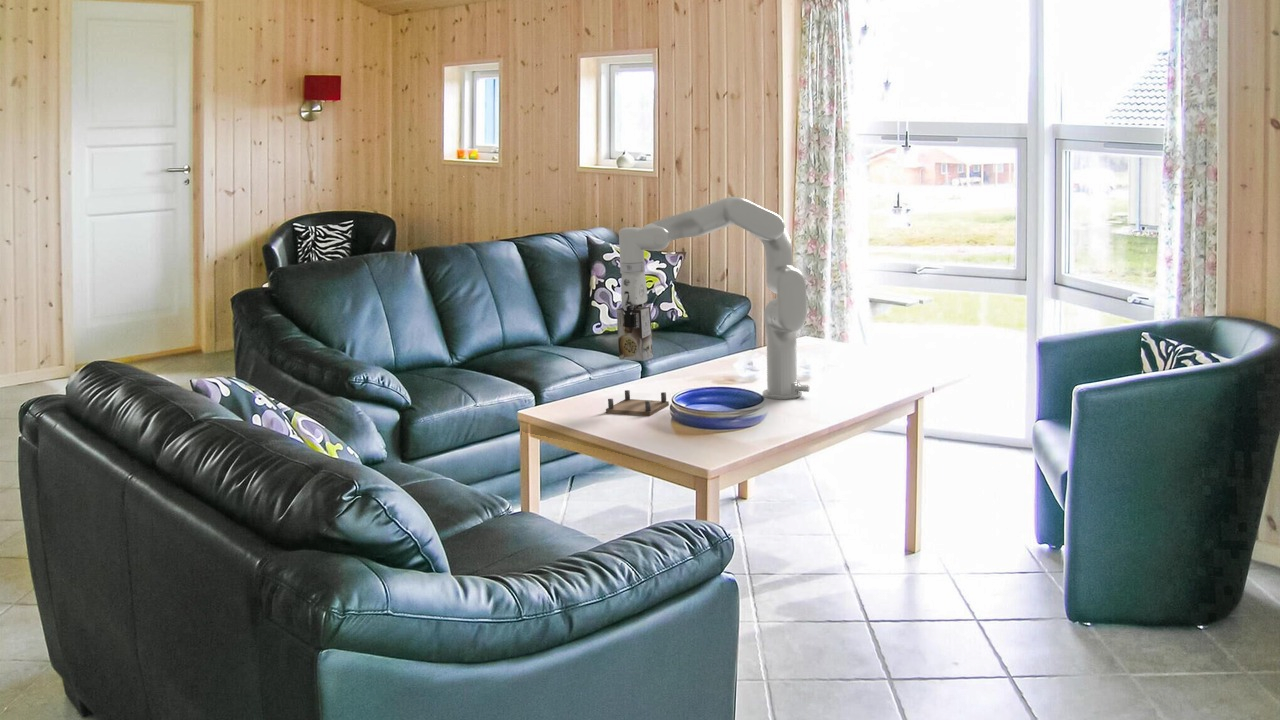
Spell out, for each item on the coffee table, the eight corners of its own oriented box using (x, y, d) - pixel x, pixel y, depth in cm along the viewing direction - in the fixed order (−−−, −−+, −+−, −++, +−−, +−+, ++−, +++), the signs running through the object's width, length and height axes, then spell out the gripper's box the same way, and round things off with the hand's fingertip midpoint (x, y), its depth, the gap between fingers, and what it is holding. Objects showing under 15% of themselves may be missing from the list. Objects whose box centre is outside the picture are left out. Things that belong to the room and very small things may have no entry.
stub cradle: (668, 405, 383) (668, 392, 382) (650, 415, 369) (649, 402, 368) (625, 402, 389) (625, 389, 388) (606, 412, 375) (605, 399, 374)
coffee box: (653, 357, 376) (651, 306, 373) (643, 361, 371) (641, 309, 368) (628, 356, 381) (626, 305, 378) (618, 359, 376) (615, 308, 373)
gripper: (632, 271, 361) (634, 330, 365) (654, 264, 377) (656, 321, 380) (609, 271, 364) (612, 329, 368) (632, 264, 380) (634, 320, 383)
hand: (634, 324), depth 374 cm, fingers closed on coffee box, 6 cm apart
